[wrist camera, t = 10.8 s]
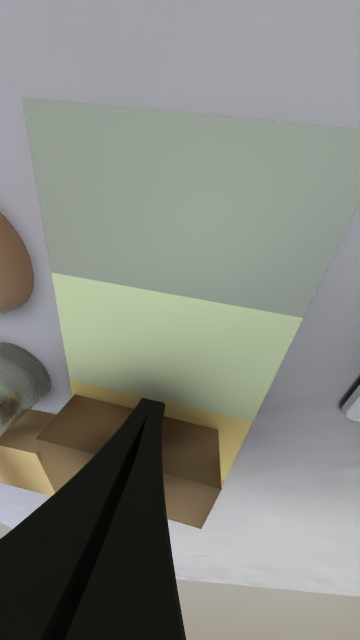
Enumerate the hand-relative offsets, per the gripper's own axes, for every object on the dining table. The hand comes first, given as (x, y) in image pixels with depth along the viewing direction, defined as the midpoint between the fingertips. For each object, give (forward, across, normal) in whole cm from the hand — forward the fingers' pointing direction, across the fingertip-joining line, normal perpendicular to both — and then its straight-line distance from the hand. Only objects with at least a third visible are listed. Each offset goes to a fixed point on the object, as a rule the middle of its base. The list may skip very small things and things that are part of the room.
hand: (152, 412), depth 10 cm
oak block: (+2, +10, +8) cm, 13 cm away
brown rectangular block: (+1, +1, +4) cm, 4 cm away
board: (+1, 0, +1) cm, 2 cm away
